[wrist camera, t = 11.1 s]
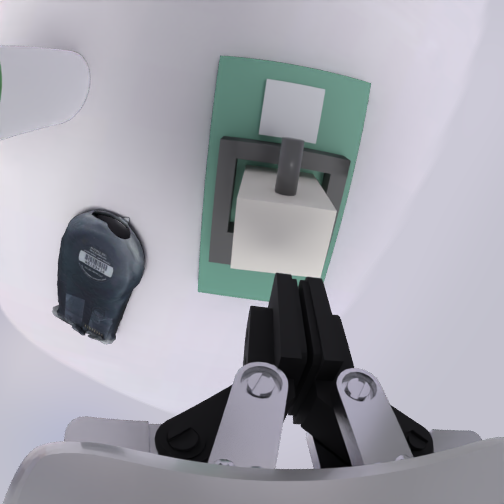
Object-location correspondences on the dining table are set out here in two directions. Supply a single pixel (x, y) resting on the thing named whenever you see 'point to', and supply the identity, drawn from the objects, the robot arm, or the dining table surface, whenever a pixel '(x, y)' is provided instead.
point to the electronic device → (96, 275)
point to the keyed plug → (282, 218)
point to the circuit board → (273, 152)
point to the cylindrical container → (39, 88)
